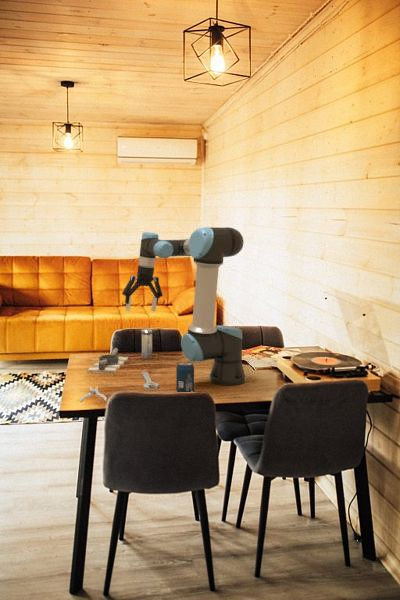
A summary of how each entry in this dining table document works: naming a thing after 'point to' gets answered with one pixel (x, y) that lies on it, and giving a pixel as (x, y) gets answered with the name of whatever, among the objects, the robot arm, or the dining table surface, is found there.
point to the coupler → (146, 343)
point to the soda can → (185, 377)
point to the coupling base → (108, 363)
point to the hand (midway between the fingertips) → (140, 310)
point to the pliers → (93, 391)
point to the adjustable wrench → (148, 382)
